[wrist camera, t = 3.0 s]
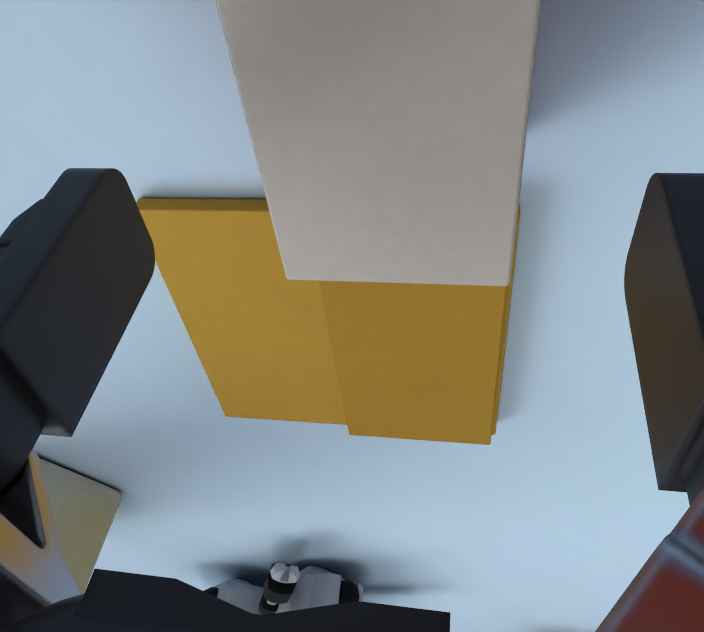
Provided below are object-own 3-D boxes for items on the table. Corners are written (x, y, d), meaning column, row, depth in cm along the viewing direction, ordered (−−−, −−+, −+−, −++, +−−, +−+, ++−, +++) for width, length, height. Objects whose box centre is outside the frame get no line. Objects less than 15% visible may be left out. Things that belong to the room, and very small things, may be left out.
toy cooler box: (270, -216, 12) (180, -129, 9) (539, -244, 12) (558, -161, 8) (326, 143, 18) (285, 281, 15) (507, 141, 18) (509, 288, 14)
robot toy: (284, 516, 40) (170, 577, 49) (271, 590, 37) (151, 640, 46) (425, 582, 45) (298, 626, 54) (424, 651, 42) (289, 686, 51)
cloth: (138, 197, 21) (125, 219, 20) (519, 200, 19) (520, 225, 18) (228, 405, 30) (222, 426, 29) (495, 423, 28) (495, 445, 27)
